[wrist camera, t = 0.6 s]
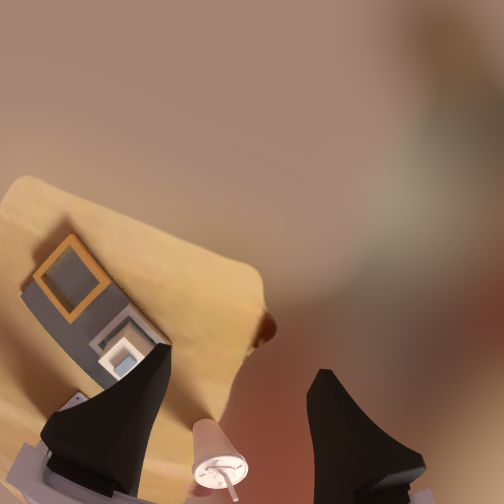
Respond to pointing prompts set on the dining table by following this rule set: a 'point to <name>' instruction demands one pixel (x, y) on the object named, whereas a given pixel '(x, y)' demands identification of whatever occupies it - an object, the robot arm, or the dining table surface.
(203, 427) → the smoothie
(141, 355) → the plug
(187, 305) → the dining table surface
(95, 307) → the panel
